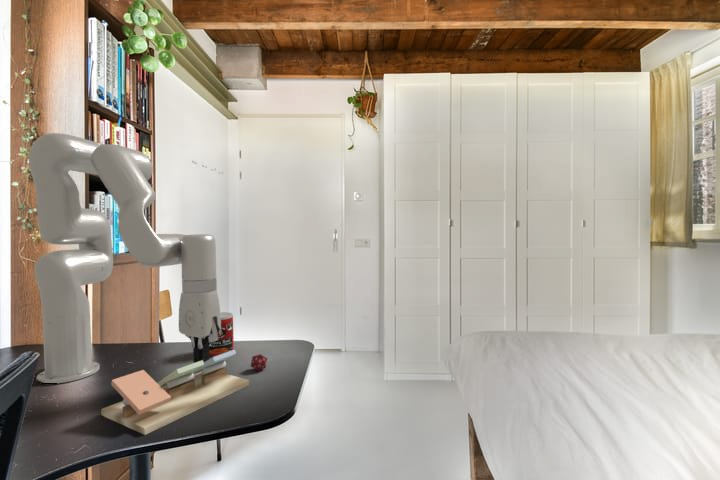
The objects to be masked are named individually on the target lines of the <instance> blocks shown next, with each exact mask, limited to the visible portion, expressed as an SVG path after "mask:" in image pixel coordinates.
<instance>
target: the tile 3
mask: <svg viewBox="0 0 720 480" xmlns="http://www.w3.org/2000/svg"><path fill="white" fill-rule="evenodd" d="M236 354H237V352H236V350H235V348H234V349H233V350H232V351H229V352H226V353H223V354H220V355H218V356H211V357H210V359H209V360H207V361H206V362H204V365H203V366H201V367H200V368H198V369H197V370H195V371H194V372H192V373H193V374H196V373H198V372H201V371H202V373H203V374H204V375H205V374H207V373H210V372H212V371H215V370H217V369H220V368H222V367H225V368H226V366H227V363H226V360H227V359H229V358H230V357H233V356H234V355H236Z"/></svg>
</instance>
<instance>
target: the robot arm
mask: <svg viewBox="0 0 720 480" xmlns="http://www.w3.org/2000/svg"><path fill="white" fill-rule="evenodd" d="M28 165H29V166H28V167H29V170H30V174H31V177H32V180H33V185H34V188H35V199H36V209H37V210H36V211H37V219H38V220H37V221H38V228H39V234H40V237H41V239H42V240H43V242H45V243H47V244H50V245H56V246H57V245H59V246H60V245H62V246H63V245H66V246H67V245H78V248H77V249H76V248H75V249H74V248H73V249H63V250H60V249H59V250H55V251H54V250H53V251H49V252H47V253H45V254H43V255H42V256H40V257H39V258H38V259H37V261H36V262H35V264H34V269H33V271H34V273H33V274H34V277H35V280H36V284H37V287H38V290H39V296H40V304H41V317H42V336H43V337H42V339H43V341H42V342H43V361H44V370H43V371H42V372H40V373H39V374H37V375H36V381H37V380H39V381H41V382H44V383H57V384H63V383H69V382H73V381H77V380H81V379H84V378H87V377H89V376H92V375H94V374H96V373H98V372H99V370H100V364H99V362H96V361H93V356H92V355H93V353H92V350H93V349H92V330H91V329H92V327H91V326H92V325H91V308H90V301H89V298H88V296H87V294H86V292H84V289H83V288H82V286H86V285H92V284H97V283H101V282H104V281H106V280H107V279H108V278H109V277H110V276H111V274H112V272H113V268H114V257H113V253H114V252H113V243H112V232H111V225H110V223H109V221H108V218H107V216H105V214H103V212H101V211H99V210H97V209H93V208H84V207H83V208H82V206H81V202H80V191H79V189H78V188H79V187H78V186H77V183H76V182H75V180H74V179H73V177H72V176H71V175H70V174H69V172H70V171H71V172H78V173H82V174H83V173H84V174H89V175H95V176H98V177H99V178H100V180H101V182H102V183H103V185H104V187H105V188H106V189H107V191H108V193H109V194H110V195H111V197H112V199H113V200H114V202H115V204H116V205H117V207H118V209H119V211H118V214H117V228H118V229H117V230H118V231H117V232H118V235H119V237H120V239H121V241H122V243H123V244H124V246H125V248H127V250H128V252H129V254H130V255H131V256H132V258H133V259H134V260H135V261H136V262H137V263H139V264H140V265H142V266H143V267H145V268H152V269H153V268H161V267H166V266H167V267H168V266H175V265H176V266H177V265H181V292H180V299H179V305H178V306H179V307H178V332H179V333H180V334H182V335H185V336H184V337H187V338H188V339H189V340H190V344H191V347H192V348H193V351H192V352H193V363H196V362H199V361H201V360H203V362H206V361H207V360H209V359H211V356H210V350H209V346H211V342H214V341H217V340H218V333H219V332H220V330H221V315H220V313H221V308H220V306H221V305H220V300H219V295H218V294H219V293H218V287H217V252H216V251H217V250H216V249H217V247H216V246H217V244H216V239H215V237H214V236H213V235H212V234H207V233H206V234H204V233H203V234H202V233H201V234H181V233H180V234H179V233H156V232H155V231H154V230H153V228H152V226H151V225H150V223H149V222H148V220H147V218H146V216H145V209H147V208H148V207H150V206H151V205H152V204H153V203H154V201H156V192H155V191H154V189H153V187H152V186H151V184H150V183H149V182H148V180H150V178H151V177H152V175H153V172H154V171H153V170H154V168H153V167H154V166H153V163H152V161H151V159H150V157H148V156H147V154H145V153H144V152H142V151H140V150H136V149H132V148H129V147H126V146H122V145H117V144H113V143H112V144H109V143H108V144H105V143H101V142H96V141H93V140H89V139H87V138H83V137H78V136H75V135H70V134H65V133H60V132H58V133H55V132H51V133H47V134H43V135H41V136H39V137H38V138H37V139H36V140H35V141H34V142H33V144H32V145H31V148H30V150H29V154H28Z"/></svg>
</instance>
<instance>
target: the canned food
mask: <svg viewBox="0 0 720 480" xmlns="http://www.w3.org/2000/svg"><path fill="white" fill-rule="evenodd" d="M220 315H221V330H220V332H219V333H218V340H217V341H214V342H211V346H209V350H210V357H215V356H218V355H220V354H223V353H226V352H229V351H232V350H234V349H235V344H234V343H235V341H234V315H233V313H232V312H225V311H223V312H221V311H220Z"/></svg>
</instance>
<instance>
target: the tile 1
mask: <svg viewBox="0 0 720 480" xmlns="http://www.w3.org/2000/svg"><path fill="white" fill-rule="evenodd" d="M157 383H158V382H157V381H156V380H155V379H153V377H152V376H150V375H149V374H148V373H147V372H146V370H144V369H141V370H138V371H135V372H132V373H130V374H125V375H123V376H120V377H117V378H114V379H112V380H111V383H110V385H111V386H112V387H113V388H114V389H115V391H116V392H117V393H118V394H119V395H120V396H121V398H123V399H122V401H123V403H124V405H125V406H126V405H130V406H131V407H132V408H133V409H134V410H135V411H136V412H137V413H138V414H139V415H140V414H142V413H144V412H147V411H149V410H151V409H154V408H156V407H158V406H161V405H163V404H165V403H168V402H170V401H171V396H170V395H169V394H168V393H167V392H166V391H165V390H164V389H163V388H162V387H161V386H160V385H158V384H157Z"/></svg>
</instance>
